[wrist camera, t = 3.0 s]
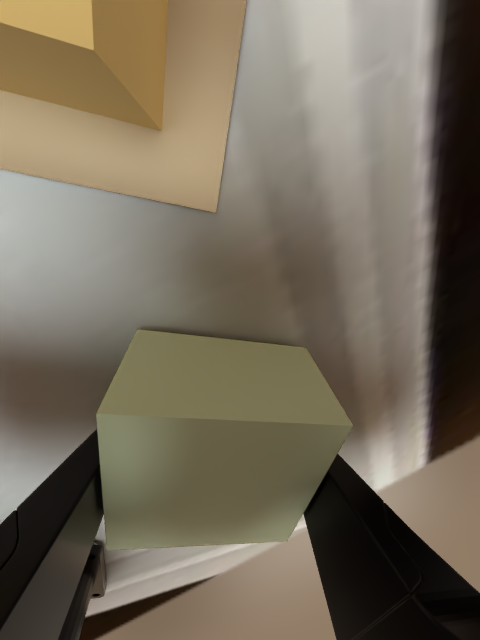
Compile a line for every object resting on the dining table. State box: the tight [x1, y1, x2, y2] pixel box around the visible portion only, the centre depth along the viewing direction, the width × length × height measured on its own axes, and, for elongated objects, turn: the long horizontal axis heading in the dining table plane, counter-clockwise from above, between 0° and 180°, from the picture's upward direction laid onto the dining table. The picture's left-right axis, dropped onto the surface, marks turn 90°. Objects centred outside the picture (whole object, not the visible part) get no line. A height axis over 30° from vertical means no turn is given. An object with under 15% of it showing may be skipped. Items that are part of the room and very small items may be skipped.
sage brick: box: [96, 329, 353, 550], centre depth 9 cm, size 6×6×4 cm
